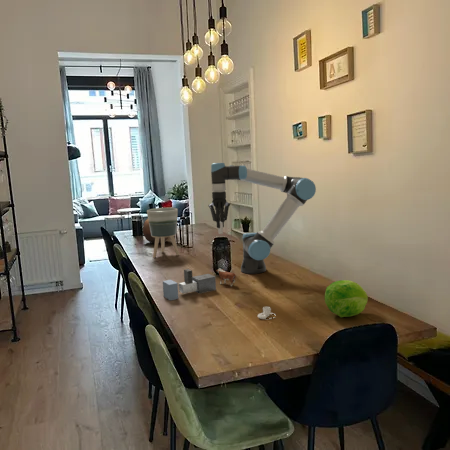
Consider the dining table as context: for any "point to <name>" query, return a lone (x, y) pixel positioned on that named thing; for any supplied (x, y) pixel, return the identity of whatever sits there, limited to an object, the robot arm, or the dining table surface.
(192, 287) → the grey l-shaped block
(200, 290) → the grey rectangular block
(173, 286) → the blue-grey block
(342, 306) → the lettuce
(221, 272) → the bull figurine
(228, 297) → the dining table surface
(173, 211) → the planter
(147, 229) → the pottery
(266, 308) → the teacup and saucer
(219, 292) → the dining table surface
